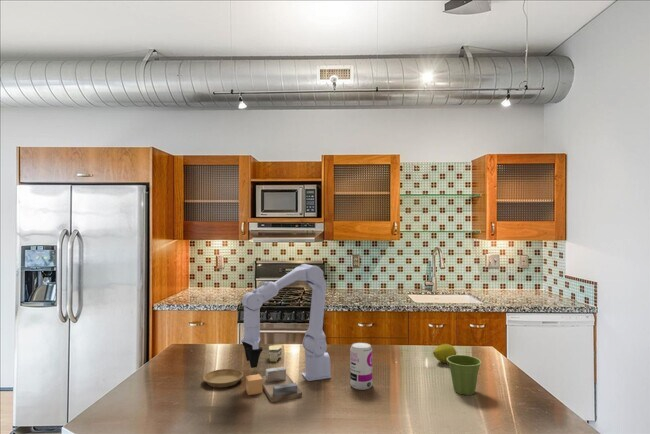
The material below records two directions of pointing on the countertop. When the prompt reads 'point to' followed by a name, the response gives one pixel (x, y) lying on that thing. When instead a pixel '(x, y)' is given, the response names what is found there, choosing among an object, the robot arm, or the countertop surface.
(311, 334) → the robot arm
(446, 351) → the lemon
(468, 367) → the plant pot
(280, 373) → the grey rectangular block
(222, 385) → the plant saucer
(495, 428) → the countertop surface
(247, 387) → the light brown cube
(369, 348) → the supplement can
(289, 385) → the flat wooden platform
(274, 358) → the stacked layers on plate
